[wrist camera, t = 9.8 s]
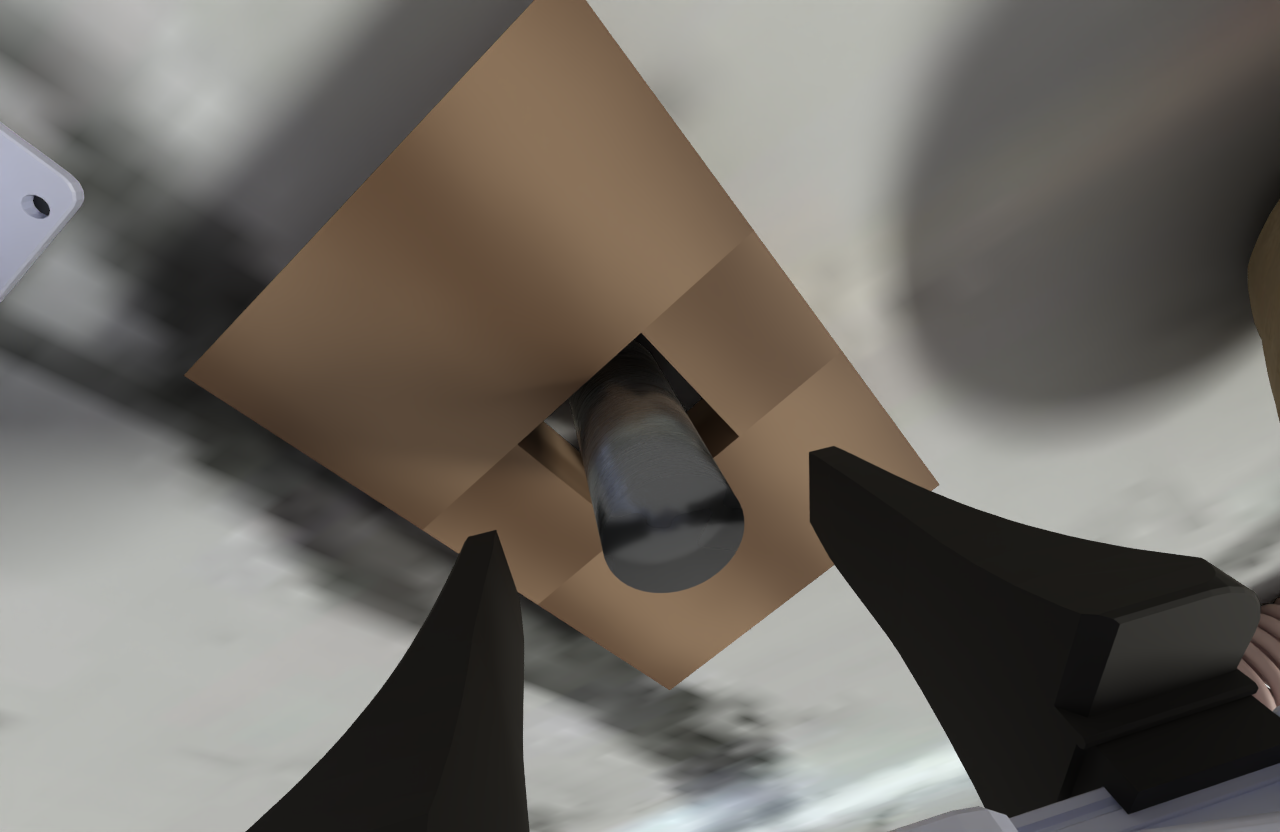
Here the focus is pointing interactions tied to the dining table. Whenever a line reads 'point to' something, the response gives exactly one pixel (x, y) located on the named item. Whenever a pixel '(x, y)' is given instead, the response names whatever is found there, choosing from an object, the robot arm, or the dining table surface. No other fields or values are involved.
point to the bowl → (1267, 296)
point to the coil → (1265, 656)
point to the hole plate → (554, 339)
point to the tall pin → (652, 479)
